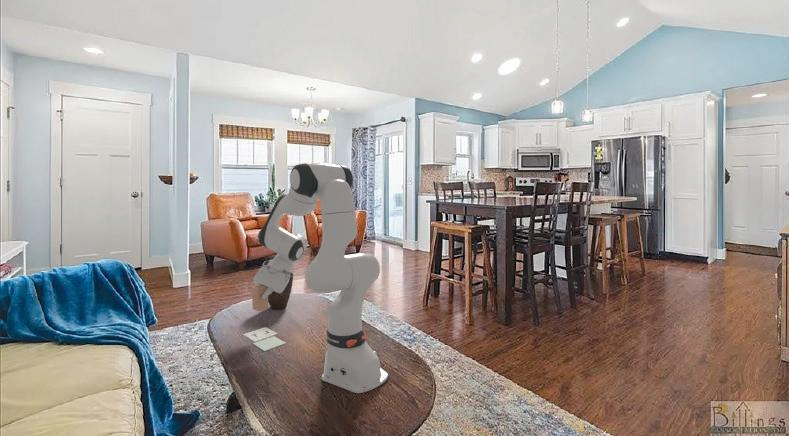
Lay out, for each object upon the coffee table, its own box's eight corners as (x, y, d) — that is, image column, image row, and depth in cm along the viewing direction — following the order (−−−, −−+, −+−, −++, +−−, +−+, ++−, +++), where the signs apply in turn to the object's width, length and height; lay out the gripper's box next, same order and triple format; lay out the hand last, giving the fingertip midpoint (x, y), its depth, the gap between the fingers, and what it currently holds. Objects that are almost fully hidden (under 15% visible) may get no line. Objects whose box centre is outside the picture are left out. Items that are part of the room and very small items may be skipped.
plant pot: (289, 312, 182) (288, 279, 180) (258, 312, 181) (256, 279, 180) (297, 301, 197) (296, 271, 195) (268, 302, 196) (266, 271, 194)
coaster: (286, 344, 148) (286, 342, 148) (264, 352, 141) (264, 350, 141) (274, 337, 154) (274, 336, 154) (252, 344, 148) (252, 343, 148)
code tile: (277, 334, 157) (277, 333, 157) (254, 342, 150) (254, 341, 150) (265, 327, 164) (265, 327, 164) (242, 334, 157) (242, 334, 156)
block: (268, 308, 156) (267, 286, 155) (258, 311, 153) (256, 289, 152) (263, 305, 159) (262, 284, 158) (252, 308, 156) (251, 287, 155)
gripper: (297, 277, 155) (276, 306, 149) (272, 269, 170) (252, 295, 164) (287, 268, 152) (265, 298, 146) (262, 260, 166) (241, 287, 160)
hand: (258, 296), depth 155 cm, fingers closed on block, 4 cm apart
